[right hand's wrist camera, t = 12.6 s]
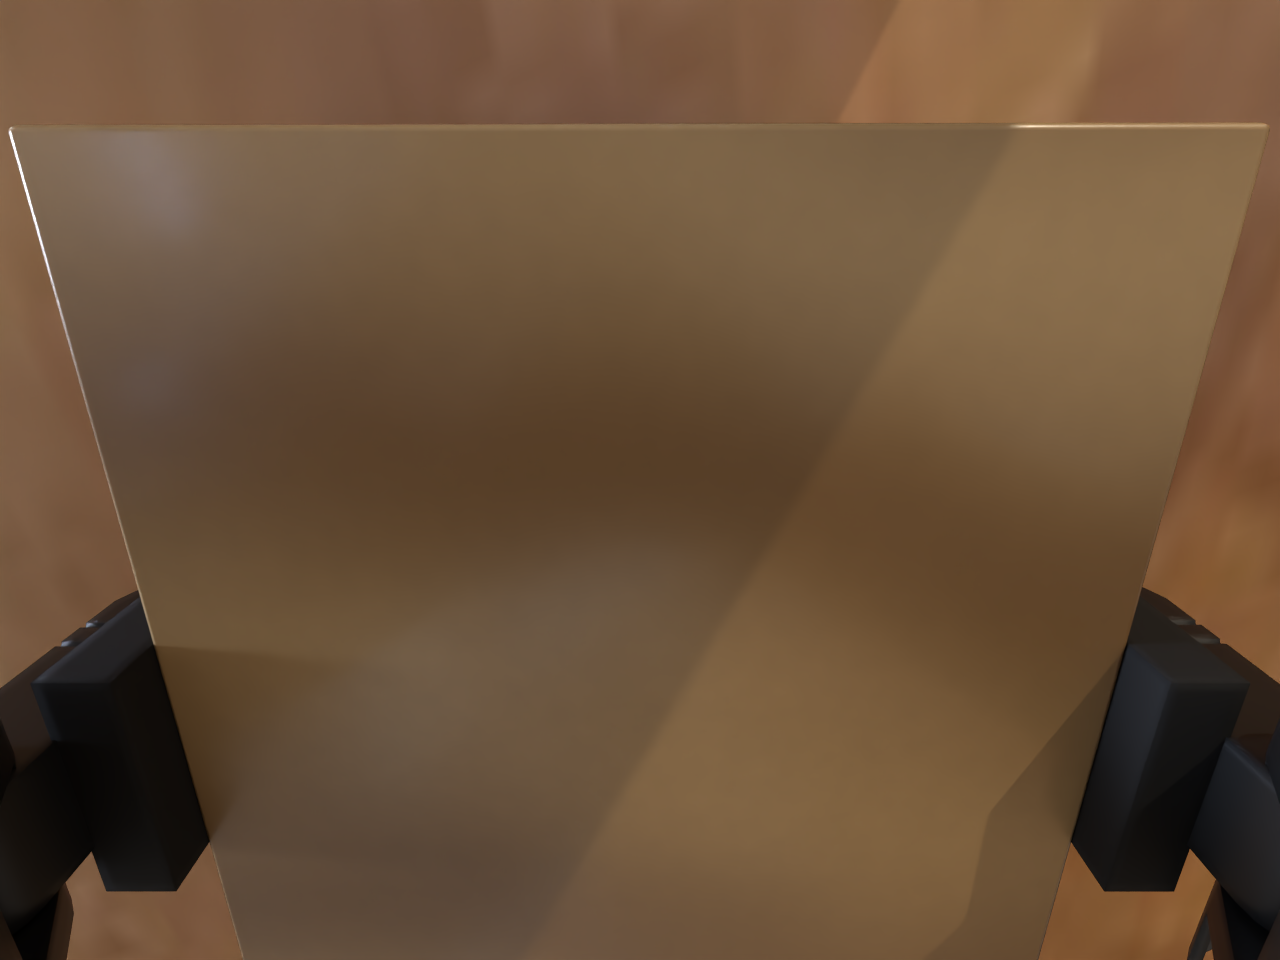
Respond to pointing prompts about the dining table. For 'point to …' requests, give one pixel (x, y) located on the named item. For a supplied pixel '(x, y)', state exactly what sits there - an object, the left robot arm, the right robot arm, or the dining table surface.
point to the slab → (639, 510)
